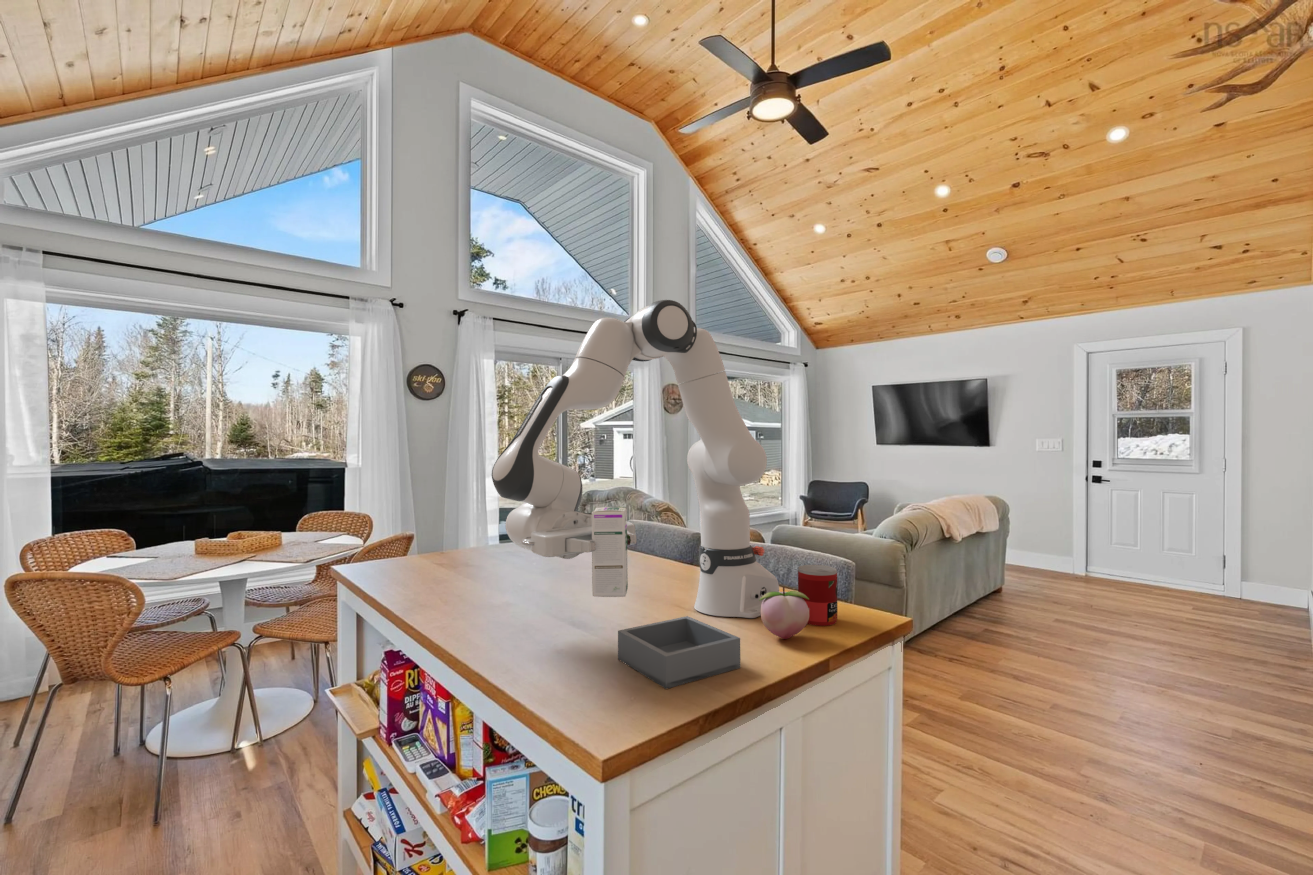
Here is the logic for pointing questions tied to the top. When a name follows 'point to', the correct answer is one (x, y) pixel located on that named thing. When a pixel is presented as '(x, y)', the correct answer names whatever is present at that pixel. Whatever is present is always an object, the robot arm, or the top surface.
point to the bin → (678, 651)
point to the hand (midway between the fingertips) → (613, 543)
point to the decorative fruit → (784, 612)
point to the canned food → (819, 593)
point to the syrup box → (609, 552)
